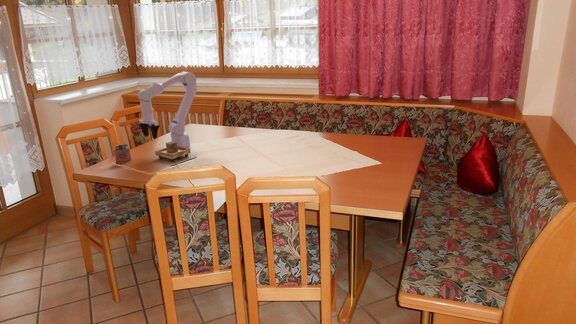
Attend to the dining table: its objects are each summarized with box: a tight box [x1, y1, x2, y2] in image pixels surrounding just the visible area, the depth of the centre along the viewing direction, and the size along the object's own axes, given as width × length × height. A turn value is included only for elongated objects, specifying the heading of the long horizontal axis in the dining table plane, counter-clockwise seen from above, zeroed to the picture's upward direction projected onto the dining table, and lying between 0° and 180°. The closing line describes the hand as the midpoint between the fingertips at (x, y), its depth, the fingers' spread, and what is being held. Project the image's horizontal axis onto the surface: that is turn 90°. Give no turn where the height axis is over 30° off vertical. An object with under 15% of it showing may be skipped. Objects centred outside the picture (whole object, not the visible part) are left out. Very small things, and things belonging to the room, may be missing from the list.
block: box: [165, 140, 178, 153], centre depth 229 cm, size 4×4×5 cm
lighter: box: [113, 143, 132, 165], centre depth 230 cm, size 8×3×10 cm, turn 105°
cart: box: [154, 146, 192, 162], centre depth 230 cm, size 12×14×4 cm
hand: (150, 137), depth 237 cm, fingers open, 7 cm apart
